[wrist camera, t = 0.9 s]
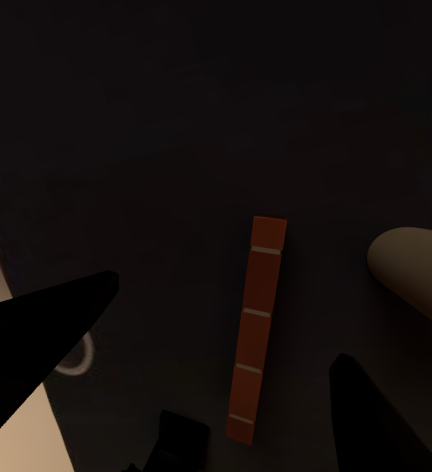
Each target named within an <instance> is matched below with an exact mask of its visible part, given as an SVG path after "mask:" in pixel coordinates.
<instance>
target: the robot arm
mask: <svg viewBox="0 0 432 472" xmlns="http://www.w3.org/2000/svg"><path fill="white" fill-rule="evenodd" d="M118 289H119V275H118V273H116V272H113V271H110V270H107V271H104V272H100V273H97V274H94V275H90V276H87V277H83V278H80V279H77V280H73V281H70V282H66V283H63V284H60V285H56V286H53V287H50V288H46V289H43V290H39V291H36V292H33V293H29V294H26V295H22V296H19V297H16V298H12V299H9V300H6V301H2V302H0V428H1V427H2V426H3V425H4V424H5V423H6V422H7V420H8V419H9V418H10V417H11V416H12V415H13V414H14V413H15V411H16V410H17V409H18V408H19V407H20V406H21V405H22V404H23V403H24V402H25V400H26V399H27V398H28V397H29V396H30V395H31V394H32V393H33V392H34V390H35V389H36V388H37V387H38V386H39V385H40V384H41V383H42V382H43V380H44V379H45V378H46V377H47V376H48V375H49V374H50V373H51V372H52V370H53V369H54V368H55V367H56V366H57V365H58V364H59V363H60V362H61V360H62V359H63V358H64V357H65V356H66V355H67V354H68V353H69V352H70V350H71V349H72V348H73V347H74V346H75V345H76V344H77V343H78V342H79V340H80V339H81V338H82V337H83V336H84V335H85V334H86V333H87V331H88V330H89V329H90V328H91V327H92V326H93V325H94V323H95V322H96V321H97V320H98V318H99V317H100V315H101V314H102V313H103V311H104V310H105V309H106V307H107V306H108V305H109V303H110V302H111V301H112V299H113V298H114V297H115V295H116V294H117V292H118ZM329 378H330V398H331V416H332V426H333V433H334V440H335V446H336V453H337V460H338V466H339V472H432V453H431V451H430V450H429V449H428V448H427V446H426V445H425V444H424V443H423V442H422V440H421V439H420V438H419V437H418V435H417V434H416V433H415V432H414V430H413V429H412V428H411V427H410V426H409V424H408V423H407V422H406V421H405V419H404V418H403V417H402V416H401V414H400V413H399V412H398V411H397V410H396V408H395V407H394V406H393V405H392V403H391V402H390V401H389V400H388V398H387V397H386V396H385V395H384V394H383V392H382V391H381V390H380V389H379V387H378V386H377V385H376V384H375V382H374V381H373V380H372V379H371V377H370V376H369V375H368V374H367V373H366V371H365V370H364V369H363V368H362V366H361V365H360V364H359V363H358V361H357V360H356V359H355V358H354V357H352V356H349V355H347V354H344V353H341V354H339V355H338V357H337V358H336V359H335V361H334V362H333V364H332V365H331V367H330V370H329ZM208 435H209V428H208V426H206V425H204V424H201V423H199V422H196V421H193V420H190V419H188V418H185V417H182V416H179V415H177V414H174V413H171V412H168V411H166V410H163V411H162V412H161V414H160V426H159V438H158V440H157V442H156V444H155V446H154V448H153V451H152V453H151V455H150V457H149V459H148V461H147V463H146V465H145V467H144V469H143V471H140V470H139V469H138V468H136V467H135V465H134V464H132V463H131V464H130V466H129V468H128V469H127V470H123V471H121V472H197V470H198V469H199V470H204V467H205V461H206V452H207V443H208Z"/></svg>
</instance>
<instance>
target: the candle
mask: <svg viewBox="0 0 432 472" xmlns="http://www.w3.org/2000/svg"><path fill="white" fill-rule="evenodd" d="M367 263H368V267H369V269H370V271H371V273H372V274H373V275H374V277H375V278H376V279H377V280H378V281H380V282H381V283H382V284H384V285H385V286H386V287H388V288H389V289H390V290H392V291H393V292H394V293H396V294H397V295H398V296H400V297H401V298H403V299H404V300H405V301H407V302H408V303H409V304H411V305H412V306H414V307H415V308H416V309H418V310H419V311H420V312H422V313H423V314H425V315H426V316H427V317H429V318H430V319H431V320H432V230H427V229H420V228H413V227H402V228H395V229H392V230H389V231H387V232H385V233H383V234H381V235H380V236H379V237H377V238H376V239H375V240H374V242H373V243H372V244H371V246H370V248H369V250H368V254H367Z"/></svg>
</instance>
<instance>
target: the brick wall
mask: <svg viewBox="0 0 432 472" xmlns="http://www.w3.org/2000/svg"><path fill="white" fill-rule="evenodd" d="M286 226H287V219H286V218H285V217H284V216H275V215H266V214H257V215H255V216H254V220H253V228H252V235H251V243H250V246H251V248H250V250H249V258H248V265H247V273H246V281H245V288H244V296H243V303H242V311H241V319H240V326H239V334H238V341H237V349H236V357H235V365H234V372H233V379H232V387H231V394H230V402H229V410H228V417H227V425H226V432H225V437H227V438H230V439H233V440H236V441H238V442H241V443H244V444H246V445H249V446H251V445H252V439H253V433H254V427H255V420H256V414H257V408H258V401H259V395H260V389H261V383H262V376H263V370H264V364H265V357H266V351H267V345H268V339H269V332H270V326H271V320H272V314H273V307H274V301H275V295H276V289H277V282H278V276H279V270H280V264H281V257H282V253H281V251H282V250H283V245H284V239H285V232H286Z"/></svg>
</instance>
